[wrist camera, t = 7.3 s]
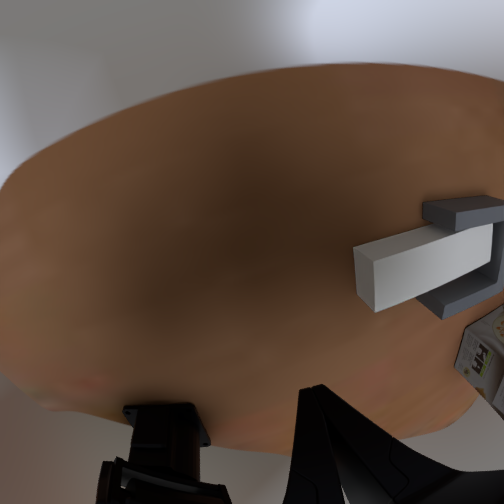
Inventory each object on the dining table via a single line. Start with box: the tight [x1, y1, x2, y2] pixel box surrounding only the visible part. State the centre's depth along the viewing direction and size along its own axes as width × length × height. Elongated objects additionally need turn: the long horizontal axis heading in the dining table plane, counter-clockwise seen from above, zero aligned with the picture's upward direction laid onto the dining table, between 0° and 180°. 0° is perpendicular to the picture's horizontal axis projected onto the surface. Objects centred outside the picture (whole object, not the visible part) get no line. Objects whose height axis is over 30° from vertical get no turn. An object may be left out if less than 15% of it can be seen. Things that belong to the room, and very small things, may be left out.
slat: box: [353, 223, 493, 313], centre depth 17 cm, size 4×12×3 cm, turn 103°
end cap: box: [416, 195, 504, 320], centre depth 17 cm, size 8×8×4 cm
